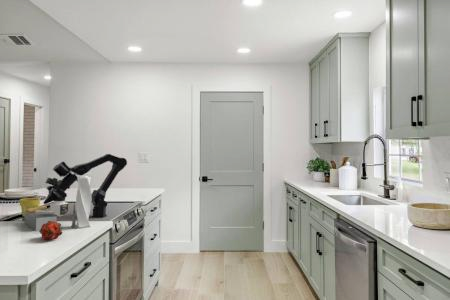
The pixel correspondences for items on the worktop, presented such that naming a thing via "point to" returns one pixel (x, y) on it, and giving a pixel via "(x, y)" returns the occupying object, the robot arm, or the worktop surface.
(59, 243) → the worktop surface
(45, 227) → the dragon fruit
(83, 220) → the skyscraper
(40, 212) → the rocker outlet
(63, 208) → the medicine bottle
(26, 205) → the plant pot
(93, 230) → the worktop surface
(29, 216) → the grey switch box
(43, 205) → the rocker outlet
